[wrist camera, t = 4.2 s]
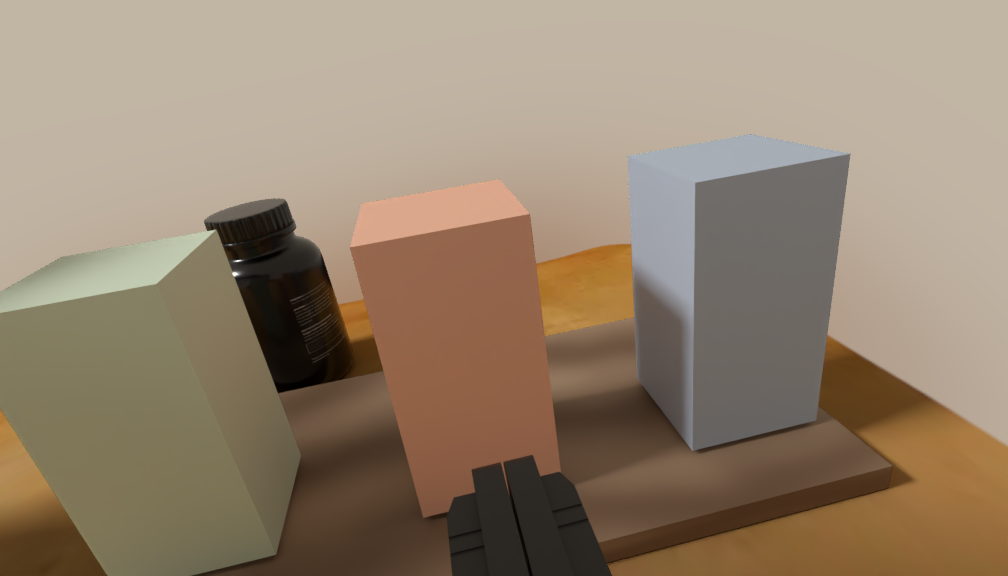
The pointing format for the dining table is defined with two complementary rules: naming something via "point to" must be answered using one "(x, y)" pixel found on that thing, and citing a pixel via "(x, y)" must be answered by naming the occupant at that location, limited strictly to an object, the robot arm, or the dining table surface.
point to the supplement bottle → (285, 294)
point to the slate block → (734, 281)
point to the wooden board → (583, 461)
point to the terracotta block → (458, 333)
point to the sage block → (149, 406)
